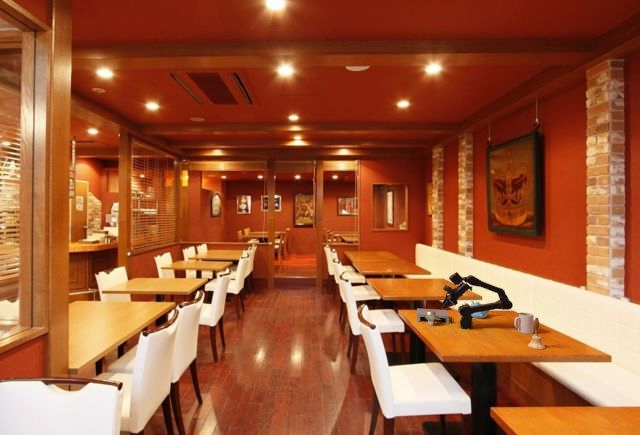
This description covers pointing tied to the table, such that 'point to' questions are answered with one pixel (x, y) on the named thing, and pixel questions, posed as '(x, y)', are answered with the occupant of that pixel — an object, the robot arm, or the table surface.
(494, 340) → the table surface
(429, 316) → the grey beige cylinder
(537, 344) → the hand bell
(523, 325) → the mug
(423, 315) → the base
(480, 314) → the teapot
